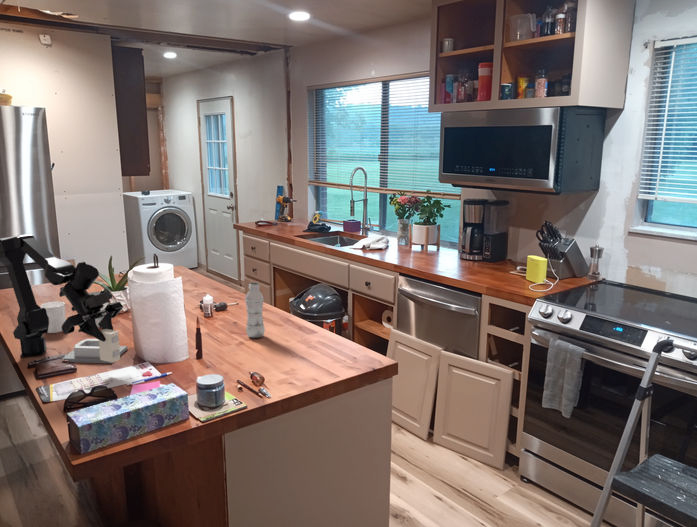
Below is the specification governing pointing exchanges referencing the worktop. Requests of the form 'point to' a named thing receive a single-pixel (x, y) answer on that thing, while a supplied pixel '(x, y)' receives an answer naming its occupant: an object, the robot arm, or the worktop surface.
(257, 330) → the plastic bottle
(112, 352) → the cream rectangular block
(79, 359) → the hinge base
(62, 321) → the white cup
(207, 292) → the worktop surface
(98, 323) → the jar
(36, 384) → the worktop surface
